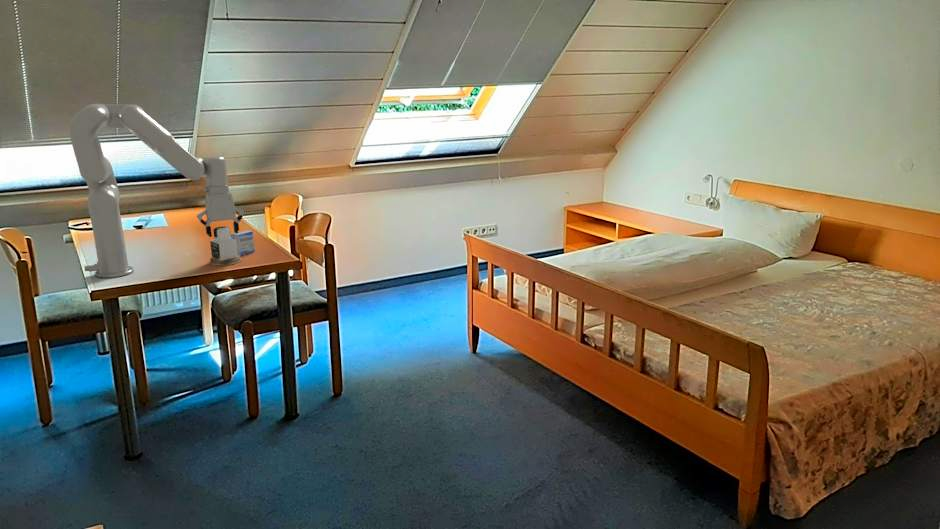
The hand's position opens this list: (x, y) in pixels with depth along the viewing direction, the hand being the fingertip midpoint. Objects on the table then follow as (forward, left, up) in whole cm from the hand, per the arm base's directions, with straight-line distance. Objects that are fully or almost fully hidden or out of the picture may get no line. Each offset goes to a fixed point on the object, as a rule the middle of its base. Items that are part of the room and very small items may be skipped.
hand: (223, 234), depth 265 cm
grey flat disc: (0, 0, -11) cm, 11 cm away
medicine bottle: (0, 0, -9) cm, 9 cm away
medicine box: (+9, +9, -11) cm, 17 cm away
